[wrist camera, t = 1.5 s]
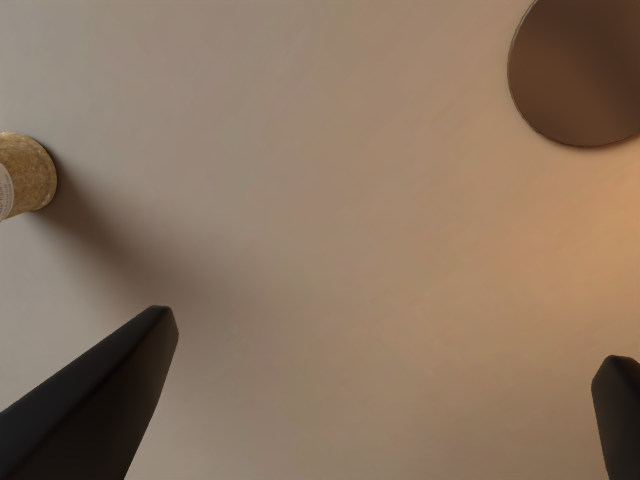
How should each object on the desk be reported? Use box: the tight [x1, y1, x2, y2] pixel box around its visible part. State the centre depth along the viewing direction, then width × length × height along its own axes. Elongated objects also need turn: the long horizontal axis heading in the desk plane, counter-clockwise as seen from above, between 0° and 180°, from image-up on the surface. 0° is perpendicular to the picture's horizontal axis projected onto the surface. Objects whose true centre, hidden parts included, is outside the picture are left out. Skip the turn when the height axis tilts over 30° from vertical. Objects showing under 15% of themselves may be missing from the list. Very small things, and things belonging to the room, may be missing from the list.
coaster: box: [507, 0, 640, 146], centre depth 19 cm, size 8×8×1 cm
